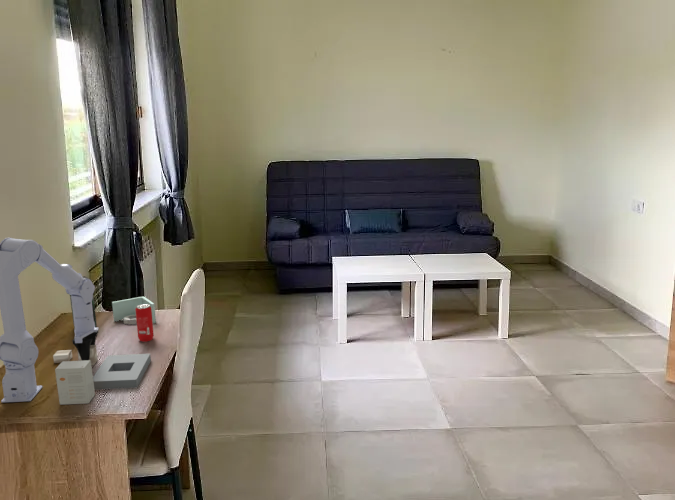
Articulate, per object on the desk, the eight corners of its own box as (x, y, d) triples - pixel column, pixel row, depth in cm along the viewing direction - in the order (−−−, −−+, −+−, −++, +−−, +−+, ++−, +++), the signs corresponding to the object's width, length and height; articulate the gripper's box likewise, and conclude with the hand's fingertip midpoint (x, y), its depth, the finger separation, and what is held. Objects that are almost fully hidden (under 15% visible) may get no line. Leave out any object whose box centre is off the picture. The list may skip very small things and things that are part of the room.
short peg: (68, 362, 211) (67, 354, 210) (54, 363, 210) (53, 355, 210) (72, 357, 215) (71, 349, 214) (58, 358, 214) (57, 350, 214)
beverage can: (135, 340, 228) (131, 307, 225) (145, 336, 232) (142, 303, 229) (146, 343, 225) (143, 309, 222) (157, 338, 230) (154, 304, 227)
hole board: (137, 387, 190) (136, 379, 189) (90, 389, 189) (89, 381, 189) (150, 360, 209) (150, 353, 209) (108, 362, 209) (108, 355, 208)
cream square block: (93, 365, 207) (92, 350, 206) (79, 365, 207) (77, 350, 206) (97, 359, 211) (96, 344, 210) (83, 360, 211) (81, 345, 210)
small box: (95, 395, 186) (91, 359, 183) (88, 404, 180) (84, 367, 178) (66, 396, 186) (62, 360, 183) (59, 405, 180) (54, 368, 178)
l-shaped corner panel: (113, 321, 249) (111, 302, 248) (145, 315, 256) (143, 296, 254) (123, 329, 240) (121, 309, 238) (156, 323, 246) (154, 303, 244)
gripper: (89, 322, 199) (94, 365, 202) (102, 307, 213) (106, 348, 216) (65, 323, 198) (70, 366, 201) (80, 308, 213) (84, 349, 216)
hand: (87, 357), depth 209 cm, fingers closed on cream square block, 4 cm apart
